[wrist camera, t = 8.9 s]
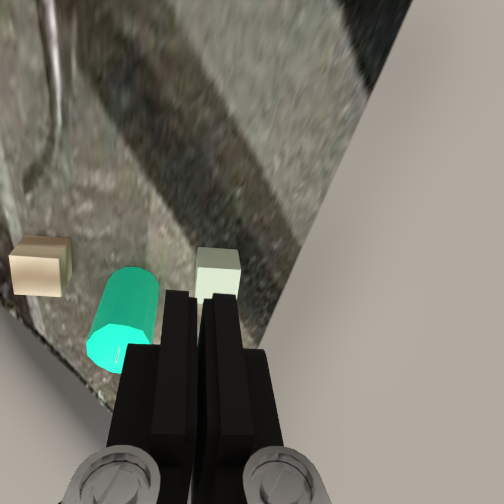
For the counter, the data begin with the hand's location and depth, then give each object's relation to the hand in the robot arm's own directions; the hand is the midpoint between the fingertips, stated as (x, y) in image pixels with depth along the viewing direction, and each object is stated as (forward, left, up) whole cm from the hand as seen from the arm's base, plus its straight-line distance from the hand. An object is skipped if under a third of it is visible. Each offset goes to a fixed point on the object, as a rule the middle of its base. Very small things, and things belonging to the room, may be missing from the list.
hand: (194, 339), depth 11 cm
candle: (+22, -6, -35) cm, 41 cm away
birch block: (+18, -14, -34) cm, 41 cm away
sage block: (+18, +4, -34) cm, 39 cm away
